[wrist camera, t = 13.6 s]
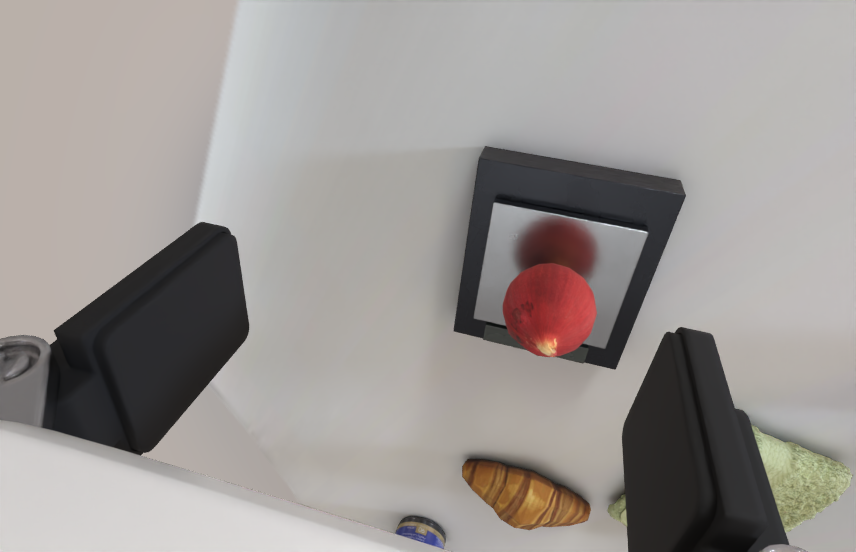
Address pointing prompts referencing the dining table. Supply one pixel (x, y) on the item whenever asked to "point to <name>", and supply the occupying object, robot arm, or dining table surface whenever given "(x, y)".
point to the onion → (549, 309)
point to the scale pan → (559, 257)
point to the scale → (576, 193)
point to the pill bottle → (422, 531)
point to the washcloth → (789, 481)
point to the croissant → (524, 495)
